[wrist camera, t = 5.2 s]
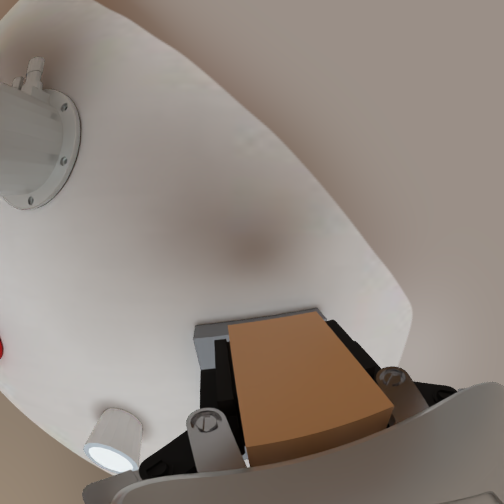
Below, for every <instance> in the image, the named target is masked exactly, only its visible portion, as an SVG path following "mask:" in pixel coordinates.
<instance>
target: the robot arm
mask: <svg viewBox="0 0 504 504" xmlns="http://www.w3.org/2000/svg"><path fill="white" fill-rule="evenodd" d="M44 62H45V60H44V58H43V57H34V58H32V59H31V60H30V61H29V64H28V69H27V74H26V77H27V78H26V83H25V84H24V85H23V80H24V78H23V77H17V78H15V79H14V80H13V84H12V87H11V86H9V85H7V84H5V83H2V82H0V196H2V197H3V198H4V200H5V201H6V202H7V203H8V204H9V205H11V206H13V207H14V208H17V209H21V210H27V209H34V208H38V207H40V206H42V205H44V204H46V203H47V202H49V201H50V200H51V199H52V198H53V197H54V196H55V195H56V194H57V193H58V192H59V191H60V189H61V188H62V187H63V185H64V183H65V182H66V180H67V179H68V177H69V174H70V172H71V170H72V168H73V165H74V162H75V159H76V156H77V152H78V147H79V143H80V119H79V116H78V112H77V109H76V107H75V105H74V103H73V102H72V101H71V99H70V98H69V97H68V96H66V95H65V94H63V93H62V92H59V91H57V90H53V89H45V90H42V87H43V83H42V82H40V79H41V75H42V72H43V67H44ZM325 322H326V323H327V325H328V326H329V327H330V328H331V329H332V331H333V332H334V333H335V334H336V335H337V337H338V338H339V339H340V340H341V341H342V343H343V344H344V345H345V346H346V348H347V349H348V350H349V351H350V352H351V354H352V355H353V356H354V357H355V358H356V360H357V361H358V362H359V363H360V364H361V366H362V367H363V368H364V369H365V371H366V372H367V373H368V374H369V375H370V377H371V378H372V379H373V380H374V382H375V383H376V384H377V385H378V386H379V388H380V389H381V390H382V391H383V393H384V394H385V395H386V396H387V397H388V399H389V400H390V401H391V402H392V404H393V405H394V408H393V411H392V414H391V417H390V419H389V422H388V425H387V427H386V429H384V430H382V431H379V432H377V433H374V434H372V435H369V436H367V437H364V438H362V439H359V440H356V441H353V442H351V443H348V444H345V445H342V446H339V447H336V448H333V449H329V450H326V451H323V452H319V453H316V454H312V455H308V456H304V457H300V458H296V459H292V460H288V461H283V462H278V463H273V464H268V465H262V466H256V467H249V468H247V466H246V464H245V462H244V459H243V457H242V456H243V455H244V454H245V453H246V452H245V446H246V445H245V439H244V433H243V427H242V421H241V415H240V409H239V402H238V396H237V389H236V383H235V376H234V369H233V362H232V354H231V347H230V341H229V342H227V340H226V339H220V340H214V347H215V368H213V369H203V370H201V383H200V409H198V410H196V411H194V412H192V413H191V414H190V415H189V416H188V418H187V420H186V426H187V431H185V432H184V433H183V434H181V435H180V436H179V437H177V438H176V439H174V440H173V441H172V442H170V443H169V444H167V445H166V446H164V447H163V448H162V449H160V450H159V451H157V452H156V453H154V454H153V455H151V456H150V457H148V458H147V459H145V460H144V461H143V462H142V463H141V465H140V467H139V469H138V470H136V471H132V470H128V471H125V472H123V473H120V474H117V475H115V476H112V477H109V478H106V479H103V480H100V481H97V482H94V483H91V484H89V485H87V486H86V487H85V488H84V489H83V493H82V496H83V500H84V502H85V504H504V386H503V385H501V384H499V383H496V382H486V383H481V384H477V385H473V386H471V387H468V388H464V389H458V391H456V390H455V389H454V388H452V387H449V386H444V385H435V384H428V383H420V382H413V381H412V379H411V378H410V376H409V374H408V373H407V372H406V371H405V370H403V369H402V368H399V367H392V366H391V367H385V368H382V369H381V368H380V367H379V366H378V365H377V364H376V362H375V361H374V360H373V359H372V358H371V357H370V356H369V355H368V354H367V353H366V352H365V350H364V349H363V348H362V347H361V346H360V345H359V344H358V343H357V342H356V341H353V340H352V339H351V338H350V337H349V335H348V334H347V333H346V332H345V331H344V330H343V329H342V328H341V327H340V326H339V324H338V323H337V322H336V321H335V320H330V321H325Z"/></svg>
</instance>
